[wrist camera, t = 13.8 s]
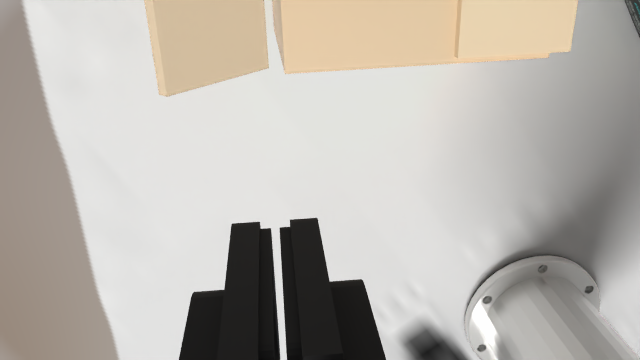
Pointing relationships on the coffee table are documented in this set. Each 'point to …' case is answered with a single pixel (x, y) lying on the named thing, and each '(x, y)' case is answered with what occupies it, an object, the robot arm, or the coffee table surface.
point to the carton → (417, 32)
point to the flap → (205, 41)
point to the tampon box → (634, 12)
